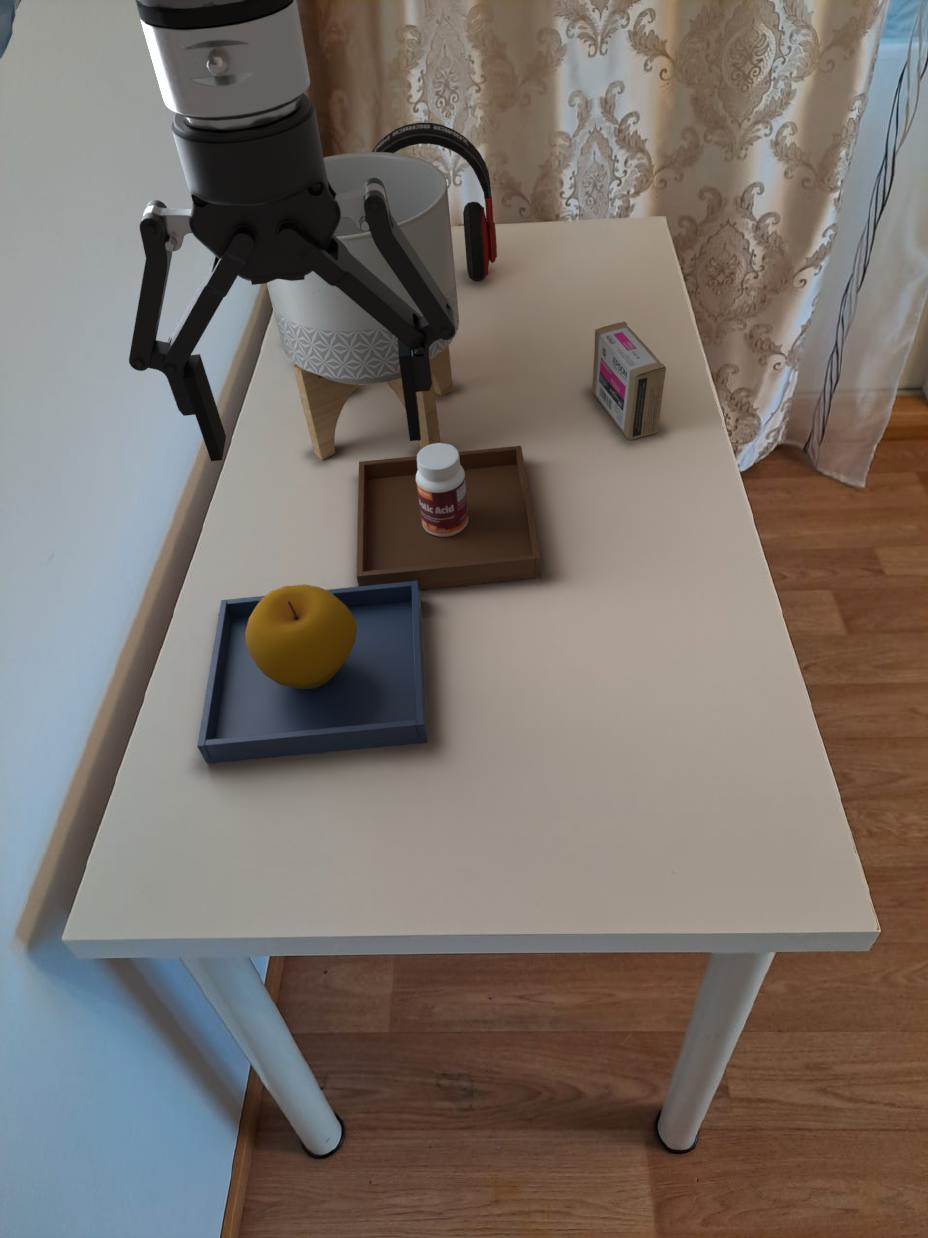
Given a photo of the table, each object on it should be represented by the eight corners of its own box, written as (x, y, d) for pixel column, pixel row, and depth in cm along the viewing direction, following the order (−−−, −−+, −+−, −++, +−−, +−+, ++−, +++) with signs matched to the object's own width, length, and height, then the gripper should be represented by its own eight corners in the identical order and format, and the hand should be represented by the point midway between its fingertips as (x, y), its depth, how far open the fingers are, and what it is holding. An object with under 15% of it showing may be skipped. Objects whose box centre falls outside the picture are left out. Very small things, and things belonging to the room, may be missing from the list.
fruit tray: (206, 764, 74) (197, 746, 72) (228, 618, 85) (220, 599, 83) (427, 743, 74) (423, 724, 72) (420, 599, 85) (417, 580, 83)
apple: (378, 641, 81) (362, 570, 74) (344, 722, 75) (324, 652, 69) (284, 627, 83) (261, 557, 76) (245, 705, 77) (216, 636, 70)
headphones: (370, 303, 123) (345, 148, 108) (373, 268, 129) (349, 117, 115) (499, 292, 122) (491, 135, 107) (495, 258, 129) (488, 105, 114)
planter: (501, 420, 103) (488, 186, 83) (367, 496, 95) (319, 259, 76) (402, 357, 113) (370, 136, 94) (274, 422, 106) (211, 197, 87)
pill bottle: (415, 534, 90) (405, 467, 84) (430, 503, 93) (421, 437, 87) (461, 541, 89) (454, 474, 83) (475, 510, 92) (469, 443, 86)
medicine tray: (360, 595, 86) (356, 576, 84) (362, 480, 97) (358, 461, 95) (541, 577, 86) (541, 558, 84) (521, 464, 97) (521, 445, 95)
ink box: (590, 393, 105) (592, 327, 99) (620, 385, 106) (624, 319, 99) (628, 442, 98) (633, 375, 92) (660, 433, 99) (667, 366, 93)
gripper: (-21, 155, 44) (127, 491, 60) (486, 104, 44) (501, 453, 60) (18, 101, 49) (145, 424, 65) (474, 56, 49) (490, 390, 65)
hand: (316, 439), depth 63 cm, fingers open, 13 cm apart
